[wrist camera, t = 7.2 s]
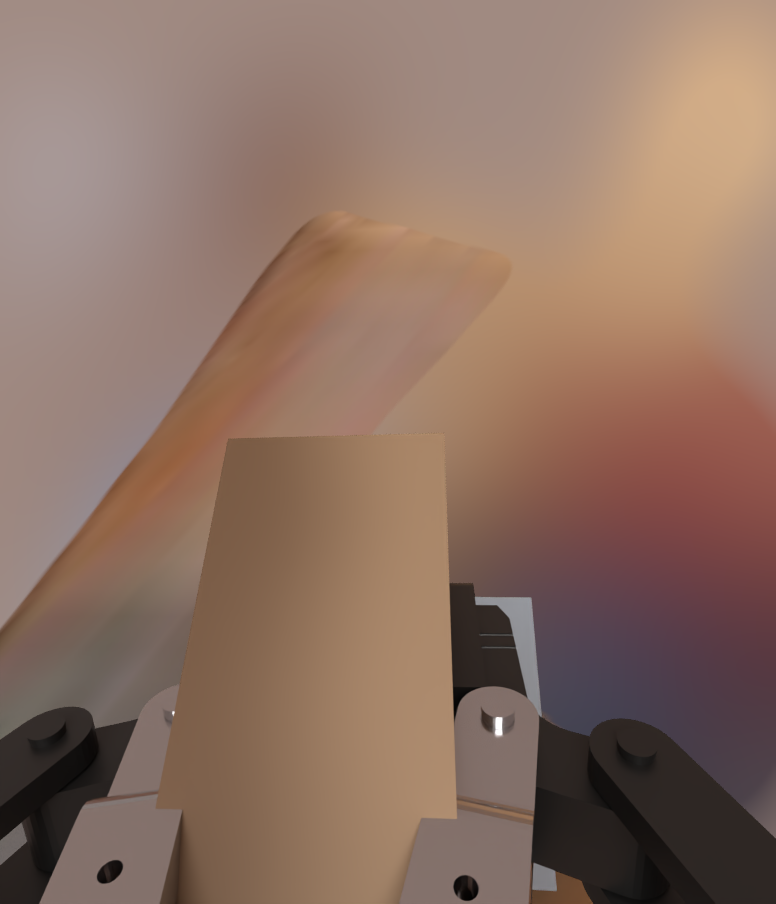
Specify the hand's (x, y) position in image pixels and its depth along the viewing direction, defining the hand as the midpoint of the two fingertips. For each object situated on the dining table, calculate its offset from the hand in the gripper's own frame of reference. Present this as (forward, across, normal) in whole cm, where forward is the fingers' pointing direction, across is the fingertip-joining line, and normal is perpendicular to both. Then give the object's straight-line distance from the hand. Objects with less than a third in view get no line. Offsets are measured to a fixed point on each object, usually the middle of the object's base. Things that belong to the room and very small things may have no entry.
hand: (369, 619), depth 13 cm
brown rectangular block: (+3, 0, +5) cm, 6 cm away
